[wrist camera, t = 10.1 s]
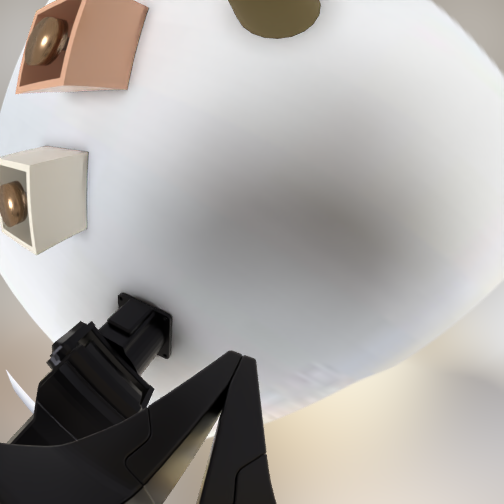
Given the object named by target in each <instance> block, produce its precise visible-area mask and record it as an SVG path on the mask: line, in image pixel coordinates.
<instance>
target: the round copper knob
mask: <svg viewBox="0 0 504 504" xmlns="http://www.w3.org/2000/svg"><path fill="white" fill-rule="evenodd" d="M27 204H28V202H27V192H25V191H24V189H23V187H22V185H21V183H20V182H19V181H12V182H9V183H6V184H3V185H1V186H0V214H1V217H2V219H3V221H4V223H5V224H6V225H7V226H8V227H12V226H14V225H17V224H19V223H21V222H23V221H25V219H26V217H27V211H28V207H27Z"/></svg>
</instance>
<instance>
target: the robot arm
mask: <svg viewBox="0 0 504 504" xmlns="http://www.w3.org/2000/svg"><path fill="white" fill-rule="evenodd" d="M118 305H119V309H118V310H117V311H116V312H115V313H114V314H113V315H112V316H111V317H110V318H108V320H107V322H106V323H105V324H104V325H103V326H102V327H101V328H100V329H99V330H98V329H97V328H96V327H95V324H94V323H93V322H92V321H91V322H90V323H89V324H88V325H87V324H85V323H83V322H81V321H80V322H79V323H78V324H77V325H76V326H74V327H73V328H72V329H71V330H70V331H69V332H67V333H66V334H65V335H63V336H62V337H61V338H60V339H58V340H57V341H56V342H55V343H54V344H53V345H52V354H51V355H50V357H51V358H50V360H48V362H47V364H48V365H49V366H50V368H51V369H52V370H51V371H50V372H49V373H48V374H47V375H46V376H45V377H44V378H43V379H42V380H41V382H40V383H39V386H38V392H37V397H36V403H35V410H34V414H33V415H32V416H31V417H30V418H29V419H28V420H27V422H26V423H25V424H24V425H23V426H22V427H21V428H20V429H19V430H18V431H17V432H16V433H15V434H14V436H13V437H12V438H11V439H10V440H9V441H8V442H7V443H0V504H163V502H164V501H165V500H166V498H167V497H168V495H169V494H170V492H171V491H172V489H173V488H174V487H175V485H176V484H177V482H178V481H179V479H180V478H181V476H182V475H183V473H184V472H185V470H186V468H187V467H188V465H189V464H190V462H191V461H192V459H193V458H194V456H195V455H196V453H197V451H198V450H199V448H200V447H201V445H202V444H203V442H204V440H205V439H206V437H207V436H208V434H209V432H210V431H211V429H212V427H213V426H214V424H215V422H216V421H217V419H218V417H219V415H220V418H219V421H218V425H217V429H216V433H215V436H214V440H213V444H212V448H211V452H210V455H209V459H208V463H207V466H206V470H205V474H204V477H203V481H202V485H201V488H200V492H199V496H198V499H197V503H196V504H276V500H275V497H274V493H273V489H272V485H271V480H270V474H269V469H268V460H267V455H266V444H265V436H264V428H263V418H262V410H261V401H260V392H259V383H258V374H257V365H256V360H255V359H254V358H251V357H249V356H246V355H244V356H242V354H240V353H237V352H234V351H228V352H227V353H225V354H224V355H222V356H221V357H220V358H218V359H217V360H216V361H214V362H213V363H211V364H210V365H209V366H207V367H206V368H204V369H203V370H201V371H200V372H199V373H197V374H196V375H194V376H193V377H191V378H190V379H188V380H187V381H186V382H184V383H183V384H181V385H180V386H178V387H177V388H175V389H174V390H172V391H171V392H169V393H168V394H166V395H165V396H163V397H162V398H160V399H159V400H157V401H155V402H154V403H152V404H151V405H149V406H148V408H147V405H148V402H149V400H150V398H151V396H152V393H153V391H154V388H153V387H152V386H151V385H149V384H148V383H147V382H146V381H145V380H144V379H143V378H142V377H141V376H140V375H141V374H142V373H143V372H144V370H145V369H146V368H147V366H148V365H149V364H150V363H151V361H152V360H153V359H154V357H155V356H156V355H159V356H161V357H163V358H166V359H168V358H169V357H170V354H171V326H172V317H171V316H170V315H169V314H168V313H166V312H163V311H161V310H159V309H156V308H154V307H152V306H150V305H147V304H145V303H143V302H141V301H139V300H137V299H134V298H132V297H130V296H128V295H126V294H124V293H121V294H119V295H118ZM166 318H167V319H166ZM220 413H221V414H220Z"/></svg>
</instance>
